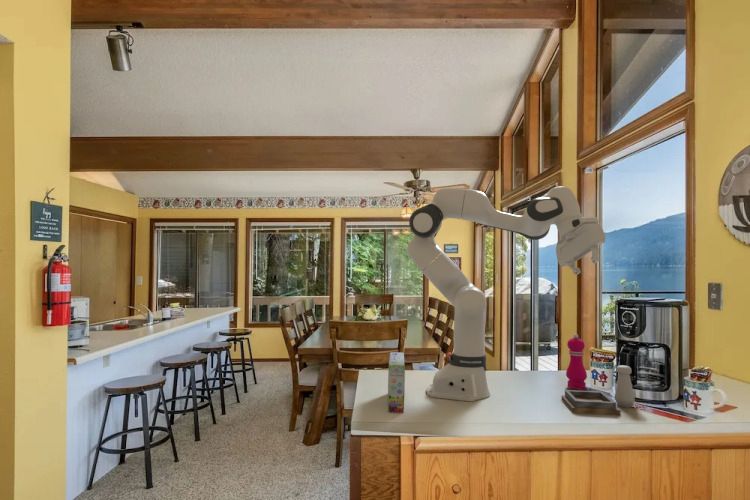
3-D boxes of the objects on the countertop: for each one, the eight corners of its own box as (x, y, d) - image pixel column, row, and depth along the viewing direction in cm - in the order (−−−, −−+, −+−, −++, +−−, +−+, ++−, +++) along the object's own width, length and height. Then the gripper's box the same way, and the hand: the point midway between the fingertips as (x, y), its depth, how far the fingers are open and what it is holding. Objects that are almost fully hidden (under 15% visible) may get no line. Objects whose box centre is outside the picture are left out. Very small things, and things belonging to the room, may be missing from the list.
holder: (572, 412, 134) (572, 401, 134) (561, 399, 147) (561, 389, 147) (620, 415, 132) (620, 403, 132) (605, 401, 145) (604, 391, 145)
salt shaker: (637, 409, 137) (636, 368, 138) (618, 407, 139) (617, 367, 139) (630, 403, 143) (629, 364, 144) (612, 402, 144) (611, 363, 145)
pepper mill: (563, 386, 163) (562, 333, 164) (571, 382, 168) (570, 331, 169) (582, 390, 158) (581, 336, 159) (590, 386, 163) (589, 334, 163)
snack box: (405, 413, 134) (405, 365, 134) (387, 413, 134) (387, 364, 135) (404, 393, 155) (404, 351, 155) (388, 393, 155) (388, 351, 156)
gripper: (547, 244, 151) (559, 280, 146) (583, 215, 133) (599, 255, 128) (562, 243, 153) (575, 279, 147) (600, 214, 135) (616, 254, 129)
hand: (586, 267), depth 137 cm, fingers open, 8 cm apart
